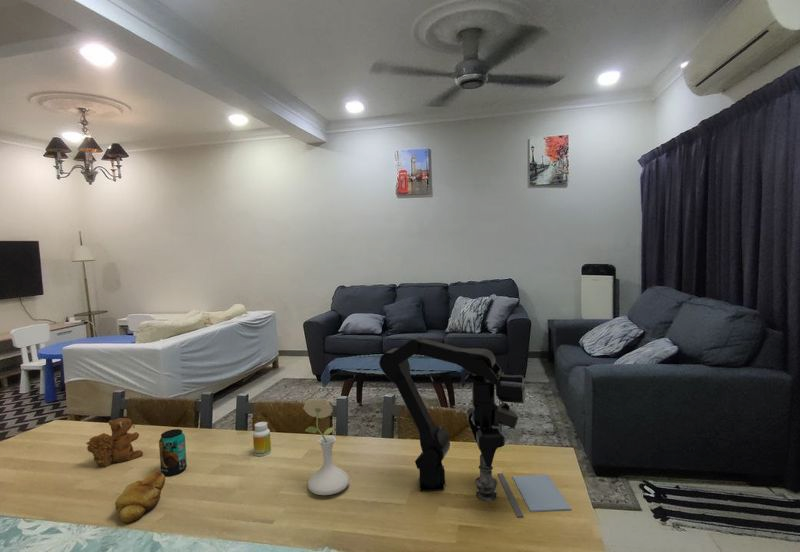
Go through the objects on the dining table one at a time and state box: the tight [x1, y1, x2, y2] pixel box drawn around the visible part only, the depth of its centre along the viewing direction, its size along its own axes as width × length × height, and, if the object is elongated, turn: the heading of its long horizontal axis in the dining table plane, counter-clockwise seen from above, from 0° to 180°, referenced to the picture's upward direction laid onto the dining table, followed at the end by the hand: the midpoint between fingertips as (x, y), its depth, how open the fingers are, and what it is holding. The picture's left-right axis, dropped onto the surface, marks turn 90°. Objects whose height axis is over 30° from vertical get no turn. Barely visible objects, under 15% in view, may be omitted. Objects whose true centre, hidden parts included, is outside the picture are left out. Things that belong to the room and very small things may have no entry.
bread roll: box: [114, 470, 166, 523], centre depth 110 cm, size 13×10×8 cm
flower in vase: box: [303, 397, 350, 496], centre depth 117 cm, size 13×11×25 cm
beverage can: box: [158, 428, 188, 477], centre depth 130 cm, size 7×7×12 cm
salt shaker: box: [474, 453, 498, 502], centre depth 111 cm, size 6×6×12 cm
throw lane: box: [497, 472, 572, 519], centre depth 111 cm, size 14×20×1 cm
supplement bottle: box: [252, 421, 272, 457], centre depth 140 cm, size 5×5×10 cm
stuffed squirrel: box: [85, 417, 144, 468], centre depth 139 cm, size 10×14×13 cm
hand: (484, 457), depth 111 cm, fingers open, 9 cm apart
